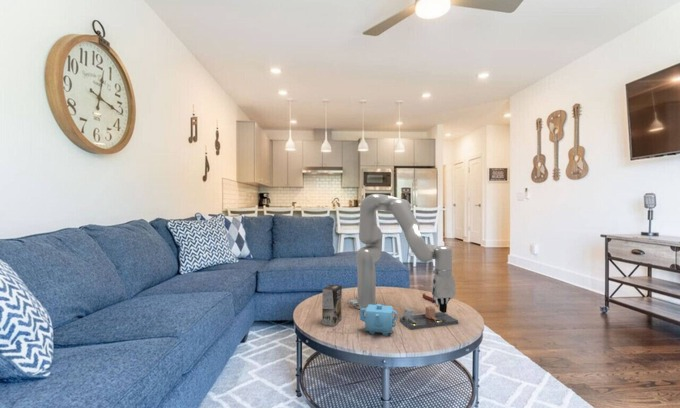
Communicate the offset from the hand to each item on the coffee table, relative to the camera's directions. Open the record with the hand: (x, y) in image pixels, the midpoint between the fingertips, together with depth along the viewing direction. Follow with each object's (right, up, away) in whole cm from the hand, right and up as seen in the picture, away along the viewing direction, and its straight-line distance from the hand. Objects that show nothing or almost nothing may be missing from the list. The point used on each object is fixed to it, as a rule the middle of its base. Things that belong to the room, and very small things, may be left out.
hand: (442, 311), depth 146 cm
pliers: (+4, -5, +28) cm, 29 cm away
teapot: (-32, -4, -14) cm, 35 cm away
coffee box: (-52, -4, -4) cm, 52 cm away
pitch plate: (-8, -4, -4) cm, 10 cm away
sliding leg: (-6, -2, -4) cm, 7 cm away
